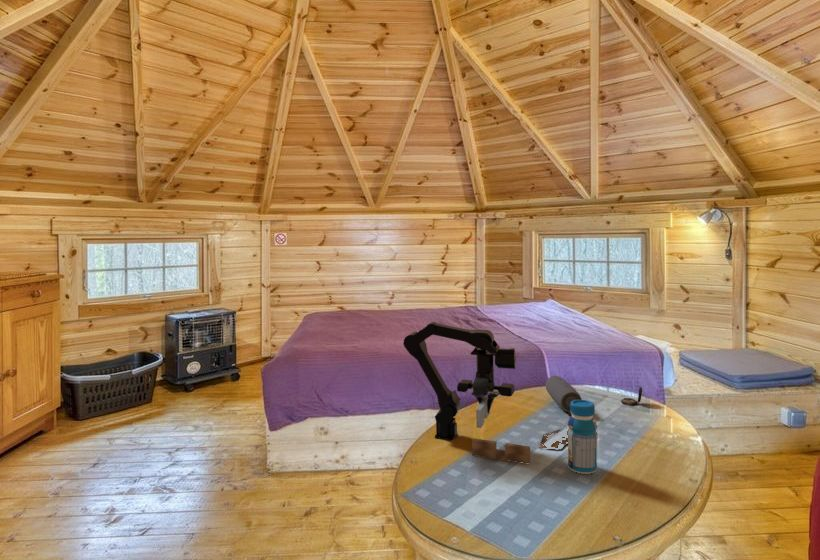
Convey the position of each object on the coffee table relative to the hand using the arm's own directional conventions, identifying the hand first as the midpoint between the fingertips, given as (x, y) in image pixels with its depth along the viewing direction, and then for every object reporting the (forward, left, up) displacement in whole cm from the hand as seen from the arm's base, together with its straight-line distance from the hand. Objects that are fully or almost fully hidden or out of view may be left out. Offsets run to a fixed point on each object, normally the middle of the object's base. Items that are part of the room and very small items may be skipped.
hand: (485, 412), depth 164 cm
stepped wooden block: (+8, -13, -10) cm, 18 cm away
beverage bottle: (+32, -11, -10) cm, 35 cm away
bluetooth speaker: (+21, +43, -10) cm, 49 cm away
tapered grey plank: (0, -3, -2) cm, 4 cm away
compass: (+47, +55, -10) cm, 73 cm away
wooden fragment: (+24, +10, -10) cm, 28 cm away
